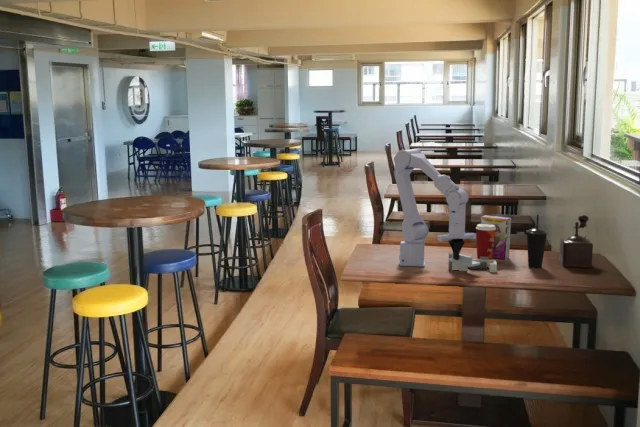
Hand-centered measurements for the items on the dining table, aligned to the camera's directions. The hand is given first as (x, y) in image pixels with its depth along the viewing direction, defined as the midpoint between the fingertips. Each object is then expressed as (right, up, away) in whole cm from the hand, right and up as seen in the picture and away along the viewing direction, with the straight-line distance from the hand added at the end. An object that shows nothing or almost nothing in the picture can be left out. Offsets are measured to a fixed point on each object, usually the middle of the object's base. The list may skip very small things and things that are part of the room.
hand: (456, 259), depth 244 cm
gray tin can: (+10, -3, +7) cm, 12 cm away
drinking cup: (+31, -4, +9) cm, 33 cm away
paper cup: (+15, -2, +20) cm, 25 cm away
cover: (+3, -1, +1) cm, 4 cm away
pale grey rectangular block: (+7, -4, +6) cm, 10 cm away
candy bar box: (+20, -1, +24) cm, 31 cm away
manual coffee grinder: (+49, -3, +15) cm, 51 cm away
